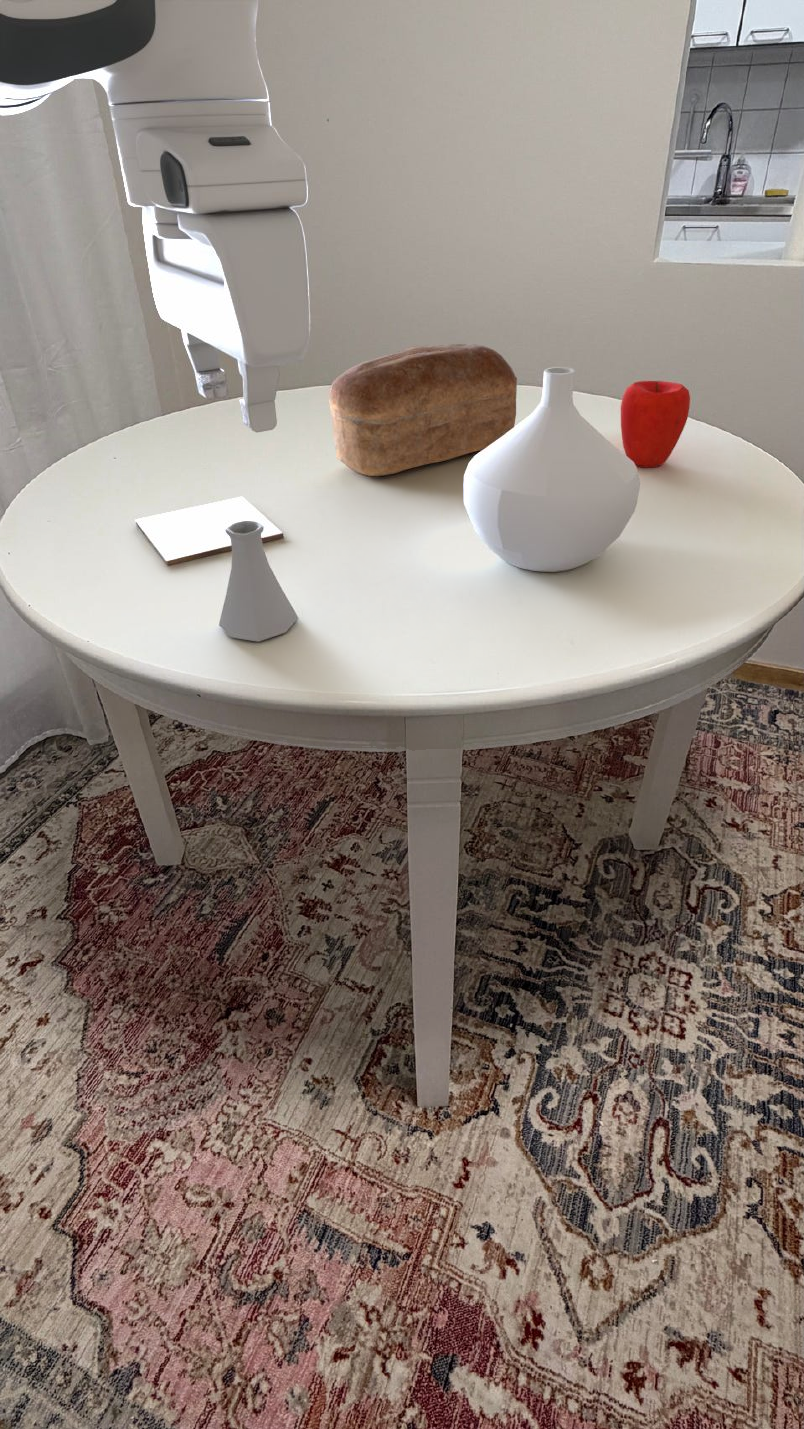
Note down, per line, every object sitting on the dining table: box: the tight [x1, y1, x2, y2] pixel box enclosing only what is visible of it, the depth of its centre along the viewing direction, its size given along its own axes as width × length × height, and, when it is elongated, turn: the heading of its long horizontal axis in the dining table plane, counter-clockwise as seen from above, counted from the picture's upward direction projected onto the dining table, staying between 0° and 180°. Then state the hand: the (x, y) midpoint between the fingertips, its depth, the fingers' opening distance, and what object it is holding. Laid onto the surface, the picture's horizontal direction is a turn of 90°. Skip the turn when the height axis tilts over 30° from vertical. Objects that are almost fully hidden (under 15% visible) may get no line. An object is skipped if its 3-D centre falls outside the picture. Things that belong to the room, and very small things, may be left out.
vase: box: [463, 366, 641, 573], centre depth 83 cm, size 18×18×19 cm
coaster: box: [135, 496, 285, 566], centre depth 96 cm, size 14×14×1 cm
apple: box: [620, 380, 691, 468], centre depth 108 cm, size 9×9×11 cm
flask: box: [218, 520, 299, 643], centre depth 75 cm, size 7×7×10 cm
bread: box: [328, 343, 518, 477], centre depth 112 cm, size 12×28×14 cm, turn 124°
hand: (235, 411), depth 55 cm, fingers open, 8 cm apart
